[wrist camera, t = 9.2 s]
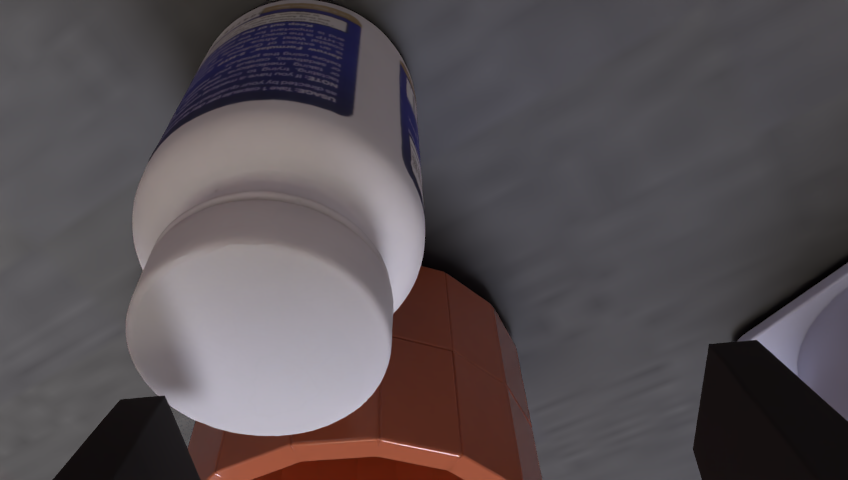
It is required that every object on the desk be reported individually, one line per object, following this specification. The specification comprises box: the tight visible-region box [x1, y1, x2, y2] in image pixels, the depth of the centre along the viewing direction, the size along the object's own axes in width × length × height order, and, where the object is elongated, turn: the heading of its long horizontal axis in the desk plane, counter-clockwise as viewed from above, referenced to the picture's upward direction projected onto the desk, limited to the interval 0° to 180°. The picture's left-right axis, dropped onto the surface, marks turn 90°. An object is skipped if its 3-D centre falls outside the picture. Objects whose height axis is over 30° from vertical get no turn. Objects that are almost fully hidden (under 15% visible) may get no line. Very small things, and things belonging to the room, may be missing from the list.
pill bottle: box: [126, 0, 425, 436], centre depth 15 cm, size 5×5×9 cm
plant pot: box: [188, 266, 542, 480], centre depth 21 cm, size 9×9×7 cm
